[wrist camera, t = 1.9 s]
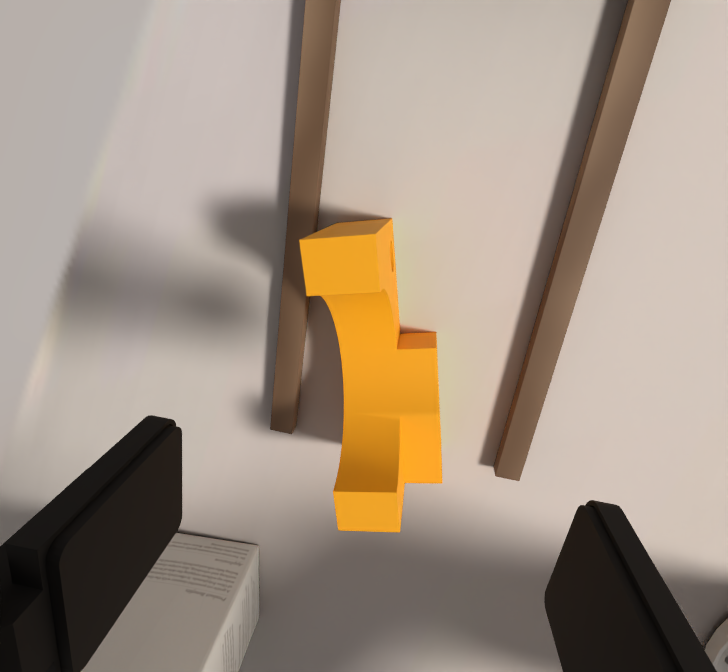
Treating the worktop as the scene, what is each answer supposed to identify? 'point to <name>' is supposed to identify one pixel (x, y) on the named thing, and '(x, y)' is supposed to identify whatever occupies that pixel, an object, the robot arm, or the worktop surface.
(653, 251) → the worktop surface
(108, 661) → the skincare box
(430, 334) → the pipe clamp
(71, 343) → the worktop surface
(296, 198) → the rail
